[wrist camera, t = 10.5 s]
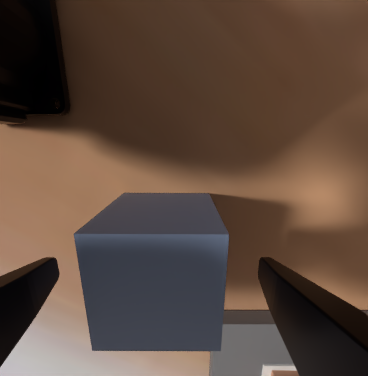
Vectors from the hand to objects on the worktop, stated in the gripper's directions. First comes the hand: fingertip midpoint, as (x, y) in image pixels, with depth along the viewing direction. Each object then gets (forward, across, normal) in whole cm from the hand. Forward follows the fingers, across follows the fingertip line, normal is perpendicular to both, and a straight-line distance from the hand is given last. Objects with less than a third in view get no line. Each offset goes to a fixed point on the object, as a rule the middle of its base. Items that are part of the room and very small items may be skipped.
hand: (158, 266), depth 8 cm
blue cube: (+3, 0, 0) cm, 3 cm away
